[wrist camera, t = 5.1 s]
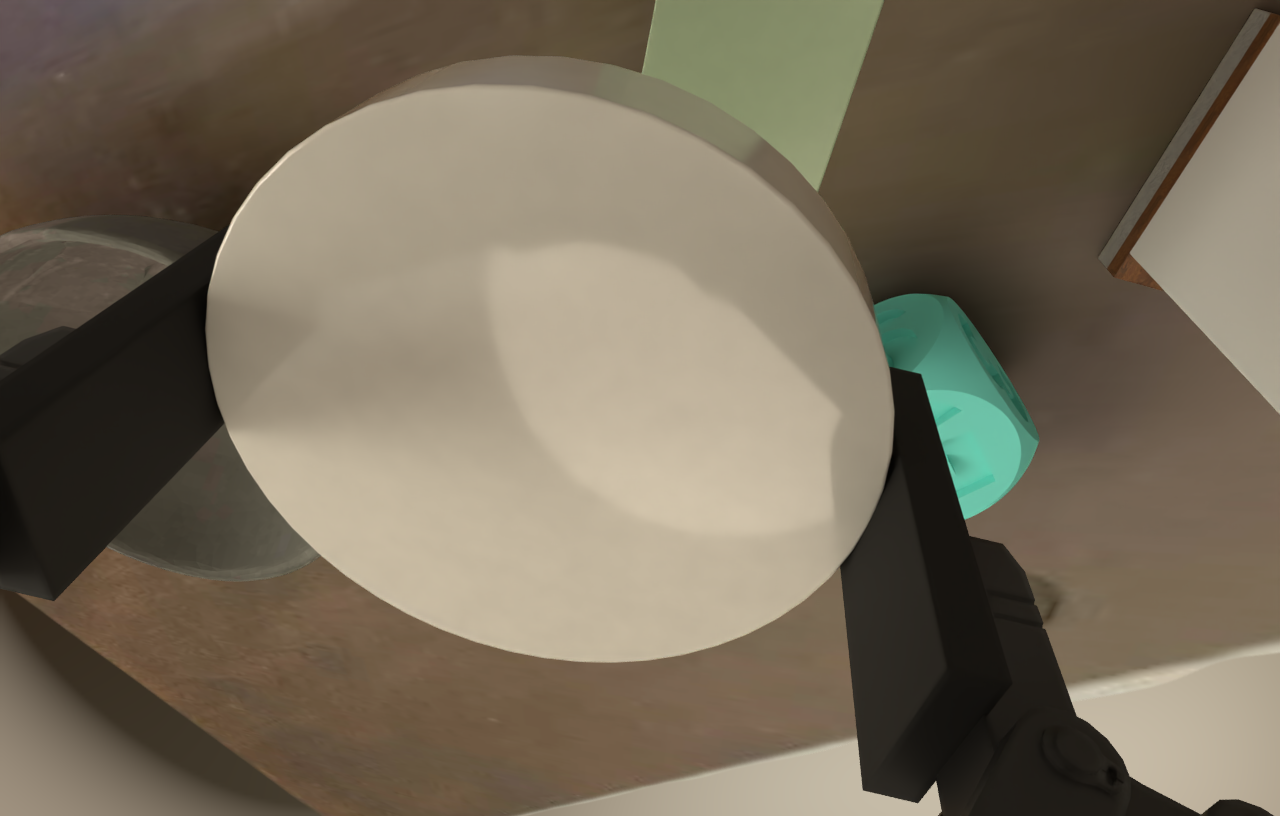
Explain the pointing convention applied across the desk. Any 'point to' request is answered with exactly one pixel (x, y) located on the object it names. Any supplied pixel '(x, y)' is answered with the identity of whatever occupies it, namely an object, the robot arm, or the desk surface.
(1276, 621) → the desk surface
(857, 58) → the green bench arch
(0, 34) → the desk surface
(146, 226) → the bowl
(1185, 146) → the white square tower
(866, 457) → the plate
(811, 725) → the desk surface
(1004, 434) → the decorative dice
